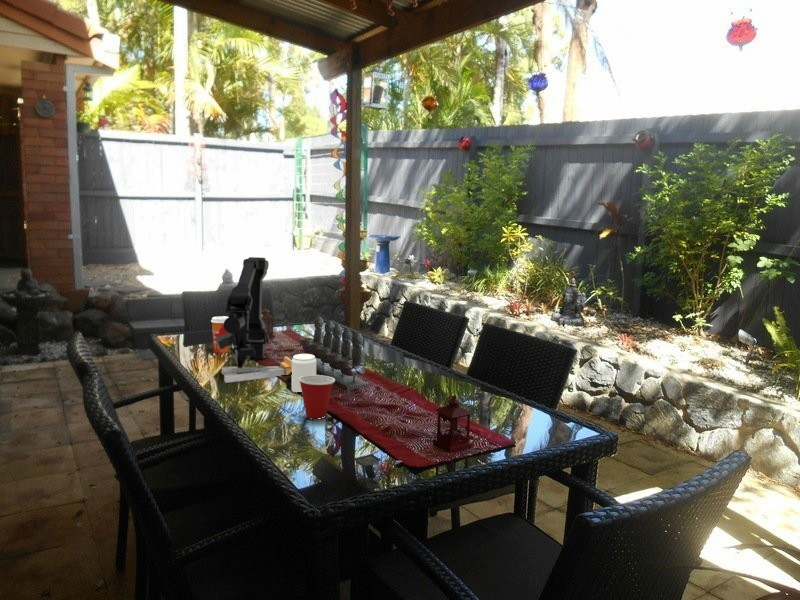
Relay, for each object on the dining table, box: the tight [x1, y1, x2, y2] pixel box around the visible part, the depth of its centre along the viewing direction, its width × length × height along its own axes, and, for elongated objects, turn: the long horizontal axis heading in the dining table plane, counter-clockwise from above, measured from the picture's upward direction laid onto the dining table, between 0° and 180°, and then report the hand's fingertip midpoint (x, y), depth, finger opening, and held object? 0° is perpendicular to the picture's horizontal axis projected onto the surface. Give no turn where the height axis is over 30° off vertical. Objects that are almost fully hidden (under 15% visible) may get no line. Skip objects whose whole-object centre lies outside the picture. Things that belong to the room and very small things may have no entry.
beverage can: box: [291, 353, 317, 393], centre depth 217 cm, size 8×8×12 cm
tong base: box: [223, 366, 286, 384], centre depth 232 cm, size 5×24×2 cm, turn 119°
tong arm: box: [221, 365, 280, 375], centre depth 235 cm, size 20×2×2 cm, turn 97°
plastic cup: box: [299, 374, 336, 420], centre depth 194 cm, size 11×11×12 cm
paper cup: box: [210, 315, 230, 354], centre depth 264 cm, size 8×8×14 cm
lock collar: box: [279, 356, 292, 375], centre depth 236 cm, size 7×2×5 cm, turn 29°
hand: (239, 368), depth 236 cm, fingers closed
